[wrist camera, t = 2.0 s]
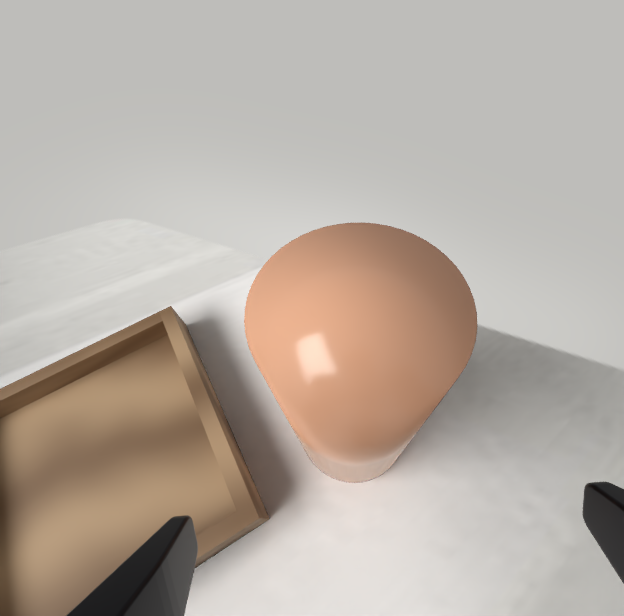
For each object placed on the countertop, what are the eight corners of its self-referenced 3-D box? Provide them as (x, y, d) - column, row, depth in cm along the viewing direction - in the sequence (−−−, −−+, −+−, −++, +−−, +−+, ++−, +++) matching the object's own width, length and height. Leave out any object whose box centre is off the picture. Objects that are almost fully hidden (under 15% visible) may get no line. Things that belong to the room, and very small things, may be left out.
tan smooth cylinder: (427, 444, 19) (532, 336, 8) (334, 506, 18) (315, 476, 7) (364, 358, 22) (382, 196, 11) (281, 407, 21) (211, 278, 10)
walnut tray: (269, 519, 18) (259, 518, 16) (-7, 700, 15) (-64, 727, 13) (185, 324, 25) (170, 306, 23) (-17, 426, 22) (-55, 415, 20)
